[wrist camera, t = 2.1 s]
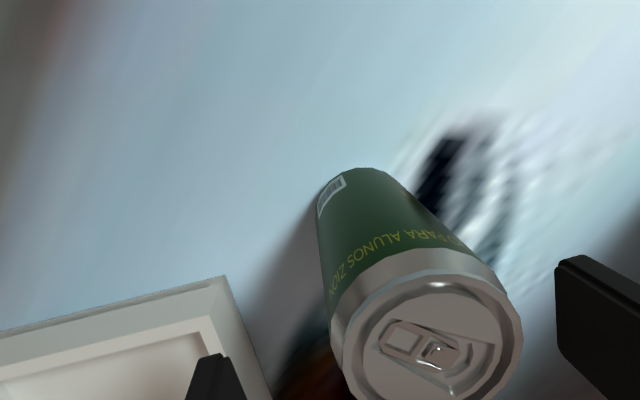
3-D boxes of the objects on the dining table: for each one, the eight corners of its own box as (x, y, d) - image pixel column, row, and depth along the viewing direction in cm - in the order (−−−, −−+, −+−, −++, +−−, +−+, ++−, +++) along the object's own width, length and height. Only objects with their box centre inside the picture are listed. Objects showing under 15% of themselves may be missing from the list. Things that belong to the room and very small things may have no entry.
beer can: (298, 228, 21) (298, 395, 10) (341, 148, 20) (399, 230, 8) (376, 263, 22) (459, 452, 11) (421, 189, 21) (573, 313, 9)
